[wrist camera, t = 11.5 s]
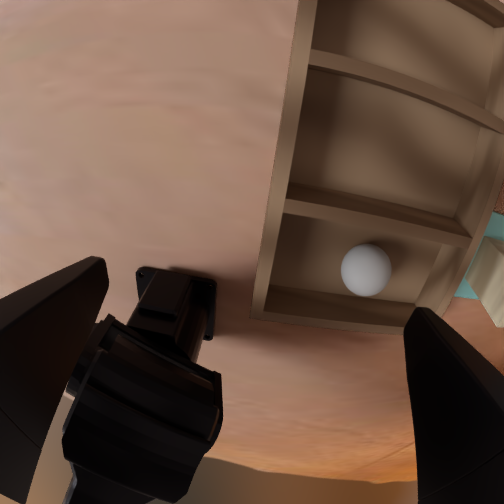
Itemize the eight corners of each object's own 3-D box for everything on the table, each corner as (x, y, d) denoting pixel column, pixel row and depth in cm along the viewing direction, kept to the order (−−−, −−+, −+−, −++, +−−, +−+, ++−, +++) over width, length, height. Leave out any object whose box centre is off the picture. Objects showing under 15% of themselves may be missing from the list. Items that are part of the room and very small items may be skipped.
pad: (494, 298, 22) (496, 301, 21) (435, 291, 22) (437, 294, 21) (530, 225, 17) (532, 227, 17) (473, 204, 18) (476, 206, 17)
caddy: (416, 308, 23) (429, 336, 20) (253, 287, 23) (249, 318, 20) (499, 24, 10) (528, 22, 7) (306, -52, 10) (310, -76, 7)
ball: (374, 278, 21) (386, 309, 18) (331, 272, 21) (338, 303, 18) (390, 239, 19) (405, 266, 16) (344, 230, 19) (355, 258, 16)
